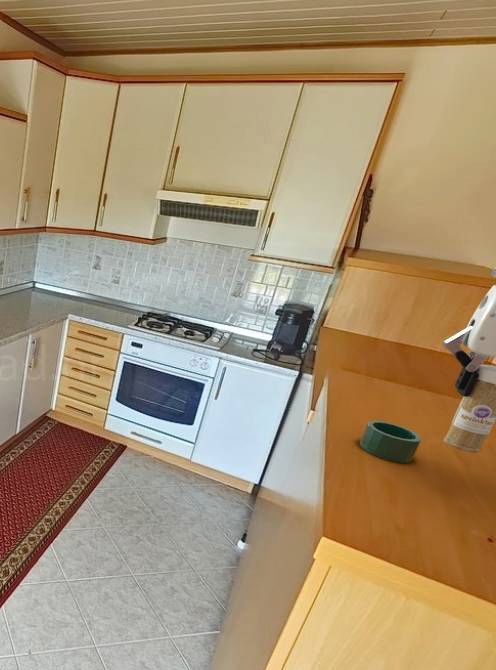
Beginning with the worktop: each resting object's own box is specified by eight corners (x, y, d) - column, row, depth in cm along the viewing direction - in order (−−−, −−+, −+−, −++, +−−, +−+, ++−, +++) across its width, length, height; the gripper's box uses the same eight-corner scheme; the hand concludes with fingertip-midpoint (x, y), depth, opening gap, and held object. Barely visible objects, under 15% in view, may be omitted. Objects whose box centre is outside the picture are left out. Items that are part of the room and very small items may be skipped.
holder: (405, 449, 94) (415, 428, 93) (416, 467, 88) (427, 445, 86) (356, 436, 98) (364, 416, 96) (363, 453, 91) (372, 432, 89)
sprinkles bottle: (450, 449, 77) (487, 370, 72) (437, 437, 81) (471, 361, 76) (486, 456, 76) (526, 376, 71) (471, 443, 80) (508, 367, 75)
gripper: (471, 275, 69) (422, 392, 76) (644, 294, 62) (573, 422, 69) (454, 269, 76) (409, 378, 82) (609, 286, 68) (547, 403, 75)
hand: (484, 397), depth 75 cm, fingers closed on sprinkles bottle, 4 cm apart
